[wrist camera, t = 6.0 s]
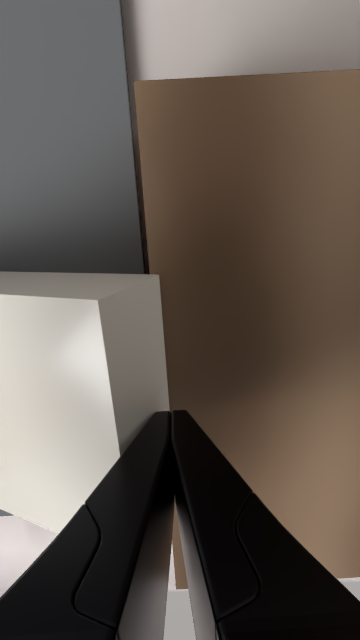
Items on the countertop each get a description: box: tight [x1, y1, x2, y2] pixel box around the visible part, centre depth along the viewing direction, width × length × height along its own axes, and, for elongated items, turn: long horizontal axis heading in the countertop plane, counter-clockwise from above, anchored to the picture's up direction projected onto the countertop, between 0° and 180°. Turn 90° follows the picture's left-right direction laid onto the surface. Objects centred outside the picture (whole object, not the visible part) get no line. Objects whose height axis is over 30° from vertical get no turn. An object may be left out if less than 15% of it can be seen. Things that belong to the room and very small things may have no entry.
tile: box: [0, 271, 170, 534], centre depth 10 cm, size 9×7×2 cm
